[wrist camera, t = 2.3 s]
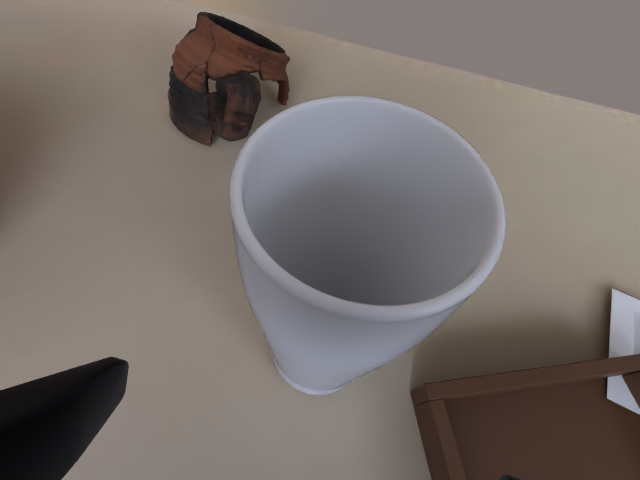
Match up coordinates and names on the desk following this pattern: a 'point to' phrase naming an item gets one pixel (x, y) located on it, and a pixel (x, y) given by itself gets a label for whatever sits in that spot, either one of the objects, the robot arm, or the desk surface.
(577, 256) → the desk surface
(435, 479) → the tray
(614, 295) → the touchpad
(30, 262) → the desk surface
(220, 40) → the pottery mug
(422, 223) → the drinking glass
